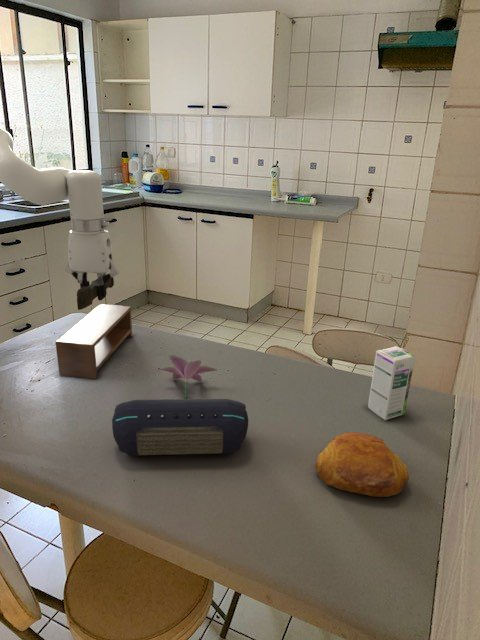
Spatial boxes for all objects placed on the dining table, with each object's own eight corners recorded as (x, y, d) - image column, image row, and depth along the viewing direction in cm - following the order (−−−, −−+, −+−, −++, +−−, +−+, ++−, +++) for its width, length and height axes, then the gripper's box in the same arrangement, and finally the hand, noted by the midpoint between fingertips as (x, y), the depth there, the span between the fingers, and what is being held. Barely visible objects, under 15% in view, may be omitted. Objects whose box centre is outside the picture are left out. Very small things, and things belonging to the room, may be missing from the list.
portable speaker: (109, 468, 82) (105, 420, 78) (118, 433, 91) (115, 389, 87) (249, 464, 84) (252, 418, 80) (244, 431, 93) (247, 388, 90)
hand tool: (100, 286, 126) (99, 269, 124) (114, 287, 125) (113, 270, 123) (67, 311, 108) (65, 292, 106) (83, 312, 108) (81, 293, 106)
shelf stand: (59, 375, 111) (55, 341, 108) (102, 332, 135) (100, 303, 132) (95, 379, 110) (92, 345, 107) (132, 335, 134) (130, 306, 131)
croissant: (401, 522, 76) (417, 486, 72) (308, 490, 79) (320, 454, 75) (398, 464, 89) (412, 431, 85) (319, 438, 91) (329, 406, 88)
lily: (223, 395, 108) (221, 354, 109) (195, 398, 98) (193, 353, 99) (180, 396, 113) (179, 357, 115) (150, 400, 103) (148, 356, 104)
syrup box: (385, 421, 99) (396, 360, 93) (366, 407, 104) (376, 349, 98) (404, 415, 101) (417, 355, 96) (385, 401, 106) (396, 344, 101)
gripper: (127, 224, 113) (130, 295, 119) (62, 220, 114) (70, 290, 121) (115, 230, 106) (120, 305, 113) (47, 225, 107) (55, 300, 114)
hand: (94, 297), depth 117 cm, fingers closed on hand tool, 3 cm apart
